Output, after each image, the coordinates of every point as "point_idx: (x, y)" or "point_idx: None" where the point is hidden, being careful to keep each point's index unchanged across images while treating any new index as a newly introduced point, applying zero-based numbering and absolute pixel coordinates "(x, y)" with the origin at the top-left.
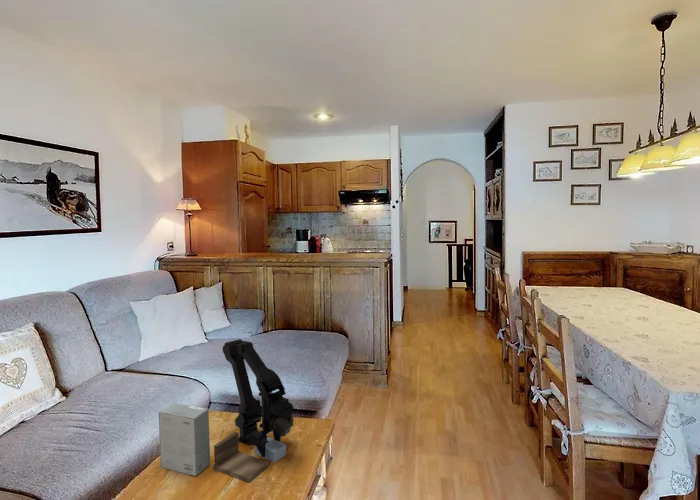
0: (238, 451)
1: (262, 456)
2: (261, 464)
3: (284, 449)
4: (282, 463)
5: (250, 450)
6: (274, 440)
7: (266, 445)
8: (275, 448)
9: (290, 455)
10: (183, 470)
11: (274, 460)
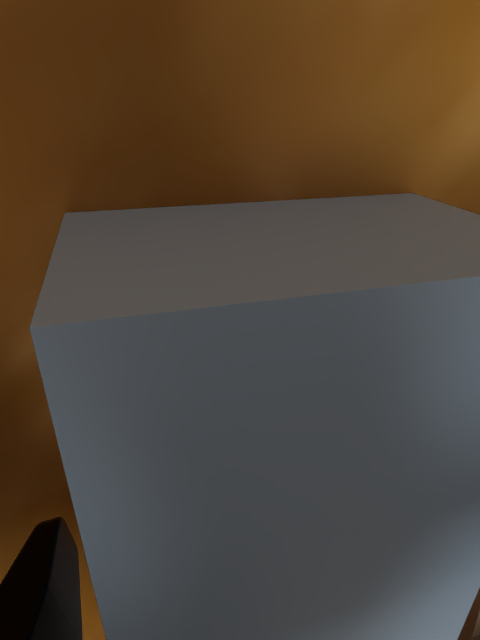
0: (474, 635)
1: None
2: None
3: (130, 258)
4: (372, 11)
5: None
6: None
7: (403, 597)
8: (433, 394)
9: (10, 75)
10: None
11: (435, 204)
